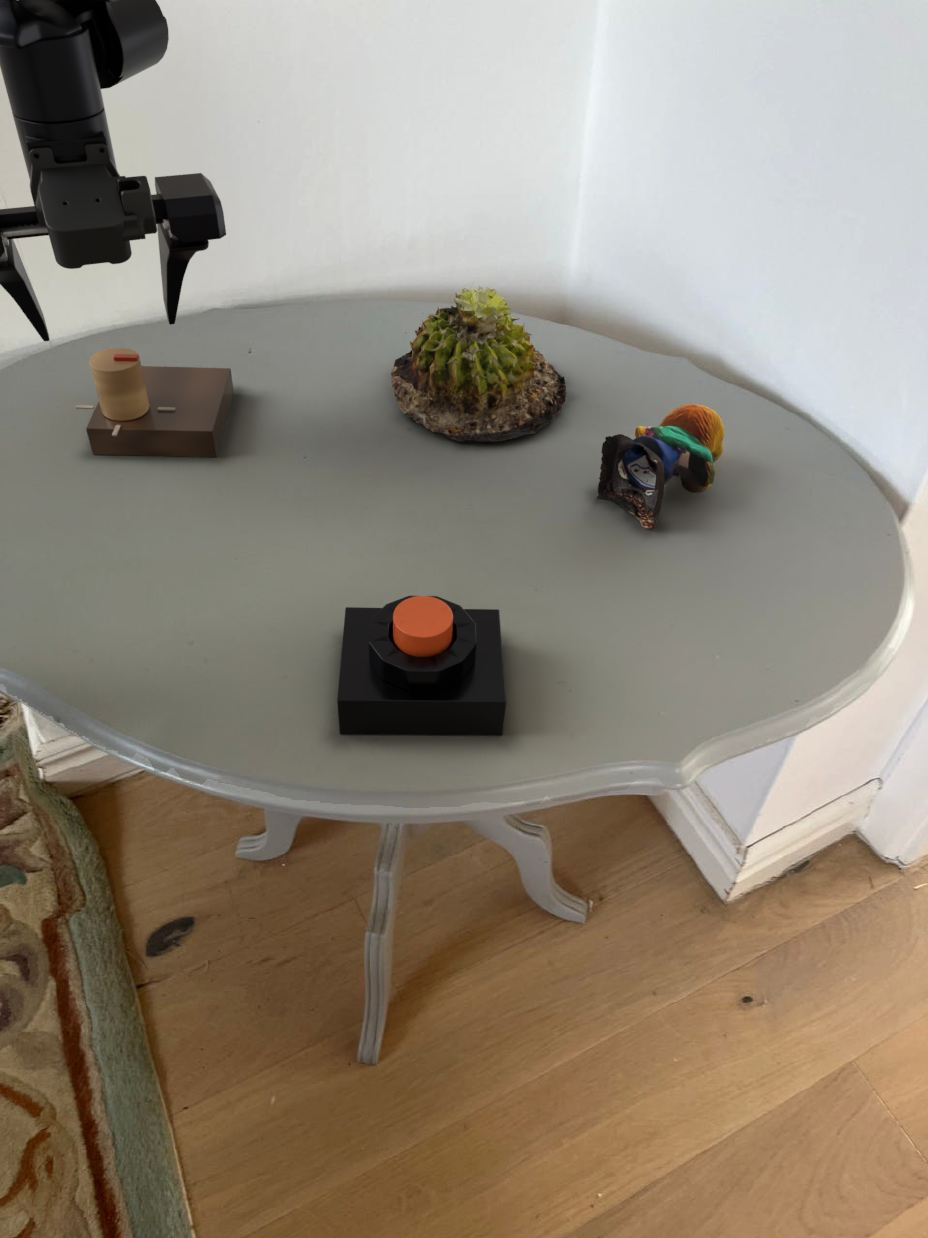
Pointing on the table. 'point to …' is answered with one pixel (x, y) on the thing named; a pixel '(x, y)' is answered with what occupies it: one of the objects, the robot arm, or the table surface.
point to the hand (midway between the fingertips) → (110, 330)
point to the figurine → (661, 460)
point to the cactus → (477, 373)
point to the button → (422, 626)
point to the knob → (119, 383)
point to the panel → (169, 415)
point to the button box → (421, 677)
